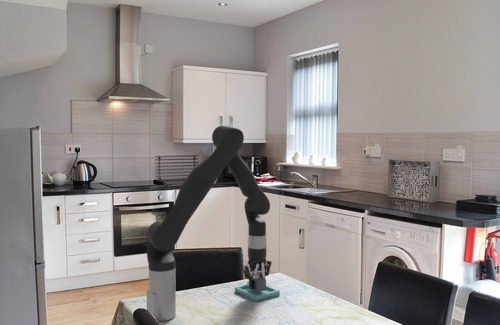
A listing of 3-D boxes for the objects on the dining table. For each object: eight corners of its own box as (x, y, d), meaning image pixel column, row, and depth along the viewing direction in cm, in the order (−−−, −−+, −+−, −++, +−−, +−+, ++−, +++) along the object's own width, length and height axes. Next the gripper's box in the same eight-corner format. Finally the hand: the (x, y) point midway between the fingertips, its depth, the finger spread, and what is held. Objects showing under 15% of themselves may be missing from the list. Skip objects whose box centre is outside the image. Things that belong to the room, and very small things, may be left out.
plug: (265, 290, 180) (266, 279, 179) (258, 292, 177) (258, 281, 177) (253, 285, 186) (253, 274, 186) (245, 287, 183) (245, 276, 183)
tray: (256, 301, 172) (256, 296, 172) (234, 292, 183) (234, 287, 183) (279, 295, 179) (279, 290, 179) (257, 286, 190) (257, 281, 190)
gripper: (248, 250, 173) (248, 294, 174) (276, 245, 181) (276, 286, 182) (237, 246, 179) (237, 289, 180) (264, 241, 187) (264, 282, 188)
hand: (257, 287), depth 181 cm, fingers closed on plug, 4 cm apart
